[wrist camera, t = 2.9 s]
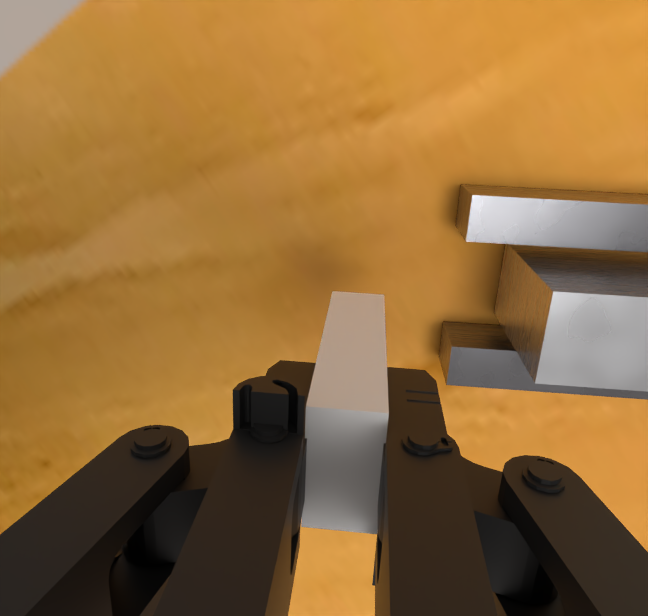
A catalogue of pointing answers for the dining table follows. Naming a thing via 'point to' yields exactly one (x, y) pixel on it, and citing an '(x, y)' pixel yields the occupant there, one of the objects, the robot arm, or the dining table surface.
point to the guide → (538, 230)
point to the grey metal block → (577, 314)
